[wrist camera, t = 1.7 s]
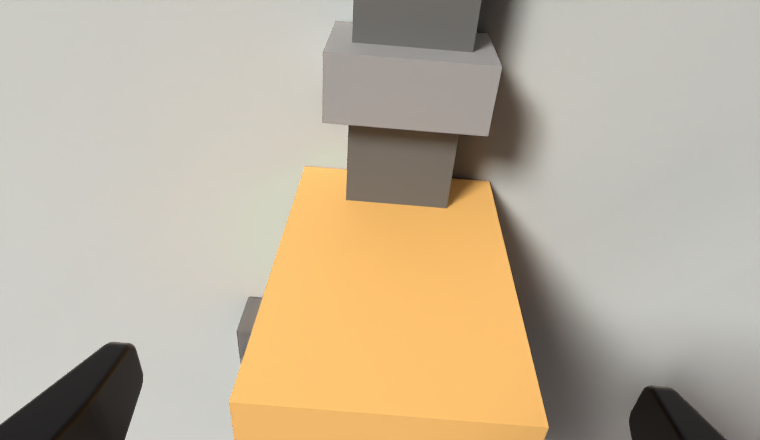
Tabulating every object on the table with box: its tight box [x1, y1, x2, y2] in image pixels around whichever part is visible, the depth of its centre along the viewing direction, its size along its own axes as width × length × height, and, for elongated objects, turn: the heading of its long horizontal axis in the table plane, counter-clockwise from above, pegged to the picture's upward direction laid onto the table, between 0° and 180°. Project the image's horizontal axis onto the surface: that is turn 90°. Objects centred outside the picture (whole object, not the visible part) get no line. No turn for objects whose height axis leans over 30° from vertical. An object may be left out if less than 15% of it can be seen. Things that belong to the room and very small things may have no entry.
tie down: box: [229, 0, 549, 440], centre depth 10 cm, size 20×7×6 cm, turn 176°
